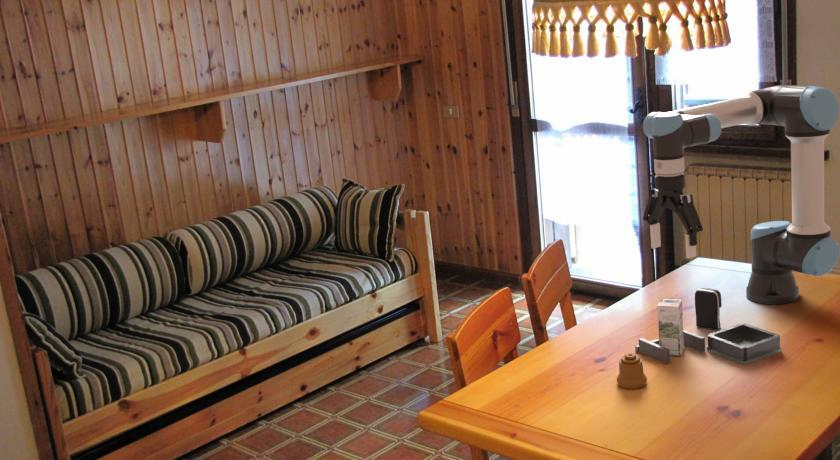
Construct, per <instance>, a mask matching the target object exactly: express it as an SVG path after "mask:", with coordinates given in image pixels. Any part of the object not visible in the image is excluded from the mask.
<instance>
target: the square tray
mask: <svg viewBox="0 0 840 460" xmlns="http://www.w3.org/2000/svg"><path fill="white" fill-rule="evenodd" d="M705 350H706V351H707V352H710V353H711V354H714V355H717V356H719V357H720V358H721V357H722V358H724V359H726V360H728V361H730V362H731V361H732V362H733V363H734V362H735V363H736V364H739V365H741V366H746V365H749V364H752V363H755V362H757V361H760V360H763V359H766V358H768V357H771V356H775V355H777V354H780V353H782V352H783V348H782V347H781V335H780V334H777V333H775V332H771V331H768V330H766V329H763V328H760V327H758V326H754V325H751V324H748V323H745V322H744V323H738V324H735V325H732V326H729V327H726V328H723V329H719V330H716V331H713V332H711V333H709V334H708V335H707V346H705Z"/></svg>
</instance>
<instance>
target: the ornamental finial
mask: <svg viewBox="0 0 840 460" xmlns="http://www.w3.org/2000/svg"><path fill="white" fill-rule="evenodd" d="M643 366H644V365H643V360H642V357H641V358H640V356H638V355H636V354H635V353H625V354H624V355H623V356H622V357H621V358H619V360H618V367H619V368H618V370H619V371H618V372H619V374H618V375H617V377H616V383H617V385H618V386H619V387H620V388H622V389H624V388H625V390H638V389H641V388H644V387H645V386H646V384H647V382H648V378H647V375H646V374H645V373H644V367H643Z"/></svg>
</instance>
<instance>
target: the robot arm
mask: <svg viewBox="0 0 840 460" xmlns="http://www.w3.org/2000/svg"><path fill="white" fill-rule="evenodd" d="M839 116H840V103H839V101H838V97H837V96H836V95H835V93H834V92H833V91H832V90H831V89H829V88H826V87H823V86H817V85H798V84H797V85H795V84H794V85H793V84H791V85H790V84H780V85H779V84H778V85H774V86H769V87H765V88H760V89H756V90H752V91H747V92H744V93H743V94H741V96H740V97H734V98H730V99H725V100H720V101H716V102H710V103H707V104H700V105H695V106H691V107H685V108H682V109H677V110H672V111H665V112H663V111H652V112H650V113H648V114H647V115H646V116H645V118H644V120H643V123H642V131H643V132H644V133H643V134H644V135H645V136H646V137H647V138H649V139H652V146H653V148H652V150H653V162H654V163H653V165H654V167H653V168H654V173H655V175H654V186H655V187H654V188H650V189H649V191H648V193H649V195H648V200H647V203H646V207H645V211H644V213H643V217H642V220H643V221H645V222H647V224H648V228H649V231H648V232H649V235H650V249H656V248H657V249H658V248H660V247H662V241H661V238H662V237H661V224H660V221H659V220H660V218H661V216H662V215H663V213H664V212H665V210H666V209H669V210H671V211H673V212H674V213H675V214H676V215H677V216H678V218H679V220H680V222H681V224H682V225H683V227H684V230H685V231H686V233H685V234H684V237H685V257H686V259H692V258H695V257H697V245H698V236H697V235H698V233H701V232H702V231H703V230H704V228H703V225H702V223H701V220H700V217H699V213H698V212H697V209H696V206H695V203H694V198H693V194H692V193H689V194H684V192H683V191H684V189H685V187H686V175H685V174H684V172H685V152H684V151H685V148H688V147H695V146H700V145H704V144H705V145H706V144H709V143H711V142H714V141H716V140H718V138H720V136H721V134H722V129H724V128H725V129H726V128H730V127H734V126H738V125H739V126H740V125H744V124H745V125H747V126H755V125H756V126H757V125H771V126H778V127H779V126H780V127H784V136H785V137H786V138H787V139H788V140H789V141H790V158H791V159H790V165H791V166H790V169H791V171H790V172H791V175H790V177H791V179H790V180H791V222H790V221H788V220H774V221H766V222H761V223H758V224H755V225H753V227H752V228H751V229H750V257H751V258H750V260H751V261H750V262H751V273H750V276H749V280H748V284H747V286H746V289H745V293H746V294H745V295H746V298H747V299H748V300H750V301H751V302H755V303H758V304H764V305H782V304H787V303H792V302H795V301H796V300H798V299H799V298H800V288H799V286H798V285H797V281H796V278H795V274H794V273H793V272H797V273H801V274H803V275H807V276H814V277H821V276H824V275H827V274H828V273H830V272H831V270H833V269H834V267H835V266H836V264H837V262H838V260H839V257H840V243H839V242H838V241H837V240H836V239H835V238H833V237H831V226H829V225H828V224H827V222H825V139H826V138H827V137H828V136H829V135H831V130H830V129H832V128H833V127H834V126H835V125H836V124H837V120H838V119H839Z"/></svg>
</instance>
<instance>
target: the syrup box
mask: <svg viewBox="0 0 840 460" xmlns="http://www.w3.org/2000/svg"><path fill="white" fill-rule="evenodd" d="M658 301H659V302H658V303H657V308H656V310H657V324H658V325H657V326H658V338H659V345H660V346H662V347H665V348H667V349H669V351H670V357H671V356H672V357H673V356H674V357H681V356H682V355H683V352H684V349H685V346H684V339H683V329H684V320H683V319H684V318H683V317H684V316H683V300H682V299H675V298H674V299H671V298H670V299H669V298H661V299H660V300H658Z"/></svg>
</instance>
